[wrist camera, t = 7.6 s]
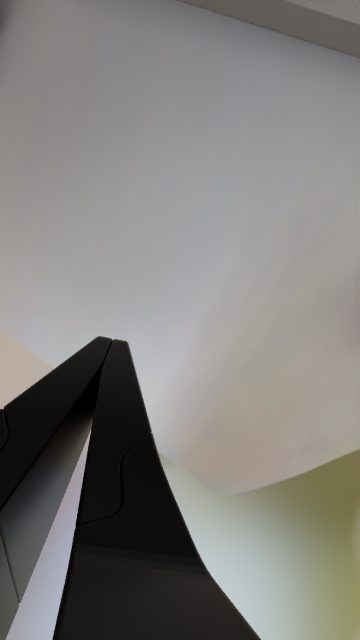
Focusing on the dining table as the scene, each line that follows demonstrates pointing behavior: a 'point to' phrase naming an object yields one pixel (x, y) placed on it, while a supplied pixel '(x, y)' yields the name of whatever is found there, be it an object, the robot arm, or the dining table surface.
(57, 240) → the dining table surface
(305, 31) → the keypad
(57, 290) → the dining table surface
